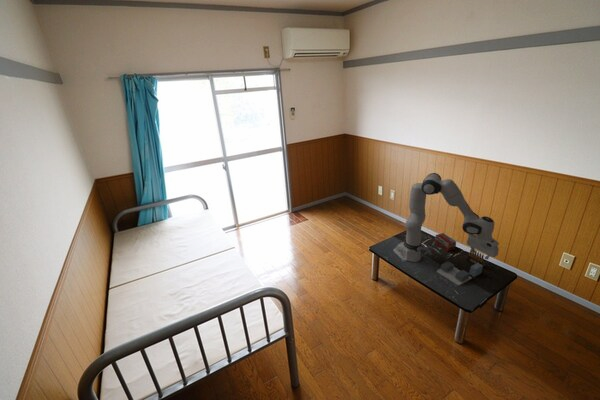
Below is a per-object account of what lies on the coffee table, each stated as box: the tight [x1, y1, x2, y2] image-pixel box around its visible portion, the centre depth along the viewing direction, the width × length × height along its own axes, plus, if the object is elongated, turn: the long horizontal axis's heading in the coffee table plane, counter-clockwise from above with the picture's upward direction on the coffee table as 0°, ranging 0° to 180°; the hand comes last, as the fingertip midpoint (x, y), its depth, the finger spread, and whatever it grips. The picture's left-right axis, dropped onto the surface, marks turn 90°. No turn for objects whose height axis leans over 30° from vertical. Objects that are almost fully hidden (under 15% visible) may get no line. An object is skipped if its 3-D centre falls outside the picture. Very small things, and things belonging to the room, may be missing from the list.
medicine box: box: [434, 232, 457, 252], centre depth 238 cm, size 15×8×8 cm, turn 18°
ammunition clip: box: [466, 248, 485, 266], centre depth 213 cm, size 11×2×12 cm, turn 28°
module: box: [468, 263, 484, 278], centre depth 205 cm, size 4×8×7 cm, turn 118°
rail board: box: [436, 261, 473, 287], centre depth 205 cm, size 18×14×6 cm
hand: (479, 255), depth 199 cm, fingers open, 8 cm apart
